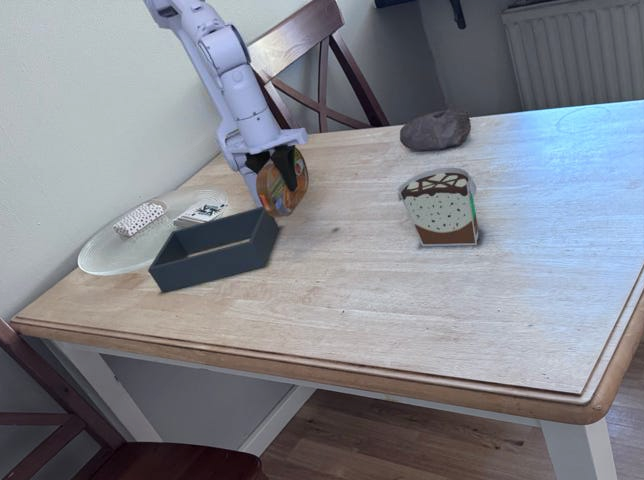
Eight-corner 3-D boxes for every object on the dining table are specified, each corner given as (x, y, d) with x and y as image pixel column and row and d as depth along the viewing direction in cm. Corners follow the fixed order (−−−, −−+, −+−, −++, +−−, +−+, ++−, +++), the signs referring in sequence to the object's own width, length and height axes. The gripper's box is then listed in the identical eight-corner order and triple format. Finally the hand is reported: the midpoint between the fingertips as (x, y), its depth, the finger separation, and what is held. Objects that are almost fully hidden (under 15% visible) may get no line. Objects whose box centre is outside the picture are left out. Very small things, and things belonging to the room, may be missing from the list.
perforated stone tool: (399, 157, 129) (388, 124, 125) (409, 145, 133) (399, 113, 128) (467, 150, 122) (458, 114, 118) (476, 137, 125) (468, 102, 121)
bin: (185, 253, 125) (172, 231, 122) (279, 228, 121) (268, 204, 117) (162, 292, 114) (147, 270, 111) (264, 266, 110) (251, 242, 107)
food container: (499, 222, 98) (485, 162, 92) (486, 244, 94) (470, 183, 88) (429, 224, 104) (411, 168, 98) (413, 246, 100) (394, 189, 94)
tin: (283, 226, 104) (265, 178, 99) (266, 227, 105) (247, 180, 100) (314, 182, 115) (298, 137, 109) (298, 183, 116) (282, 139, 110)
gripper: (201, 132, 99) (240, 208, 108) (281, 113, 94) (316, 194, 103) (220, 113, 104) (257, 188, 113) (297, 94, 99) (329, 174, 108)
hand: (286, 190), depth 108 cm, fingers closed on tin, 2 cm apart
